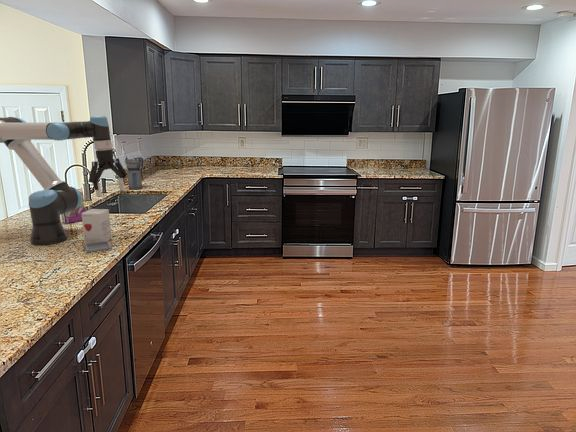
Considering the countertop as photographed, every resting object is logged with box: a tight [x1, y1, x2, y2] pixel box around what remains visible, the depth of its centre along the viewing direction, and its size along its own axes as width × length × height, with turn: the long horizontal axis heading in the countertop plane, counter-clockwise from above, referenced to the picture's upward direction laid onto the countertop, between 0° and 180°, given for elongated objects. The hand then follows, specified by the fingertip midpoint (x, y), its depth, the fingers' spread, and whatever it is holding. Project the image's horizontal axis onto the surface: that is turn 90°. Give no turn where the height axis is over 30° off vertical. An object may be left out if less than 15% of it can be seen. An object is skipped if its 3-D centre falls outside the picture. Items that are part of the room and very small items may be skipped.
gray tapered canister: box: [124, 156, 144, 191], centre depth 320 cm, size 10×13×25 cm
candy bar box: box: [60, 190, 86, 225], centre depth 228 cm, size 11×5×16 cm, turn 141°
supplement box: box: [81, 208, 112, 245], centre depth 193 cm, size 9×9×15 cm
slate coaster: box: [84, 240, 113, 254], centre depth 185 cm, size 10×10×2 cm
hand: (111, 193), depth 200 cm, fingers open, 13 cm apart
